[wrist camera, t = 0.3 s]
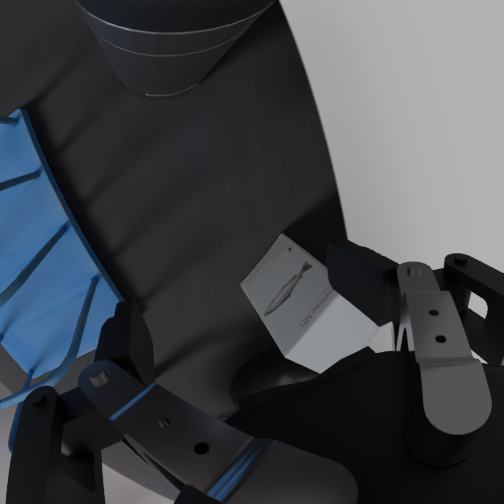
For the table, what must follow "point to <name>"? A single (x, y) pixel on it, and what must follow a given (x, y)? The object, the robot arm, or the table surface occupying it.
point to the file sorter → (43, 268)
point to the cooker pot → (267, 375)
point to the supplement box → (305, 308)
